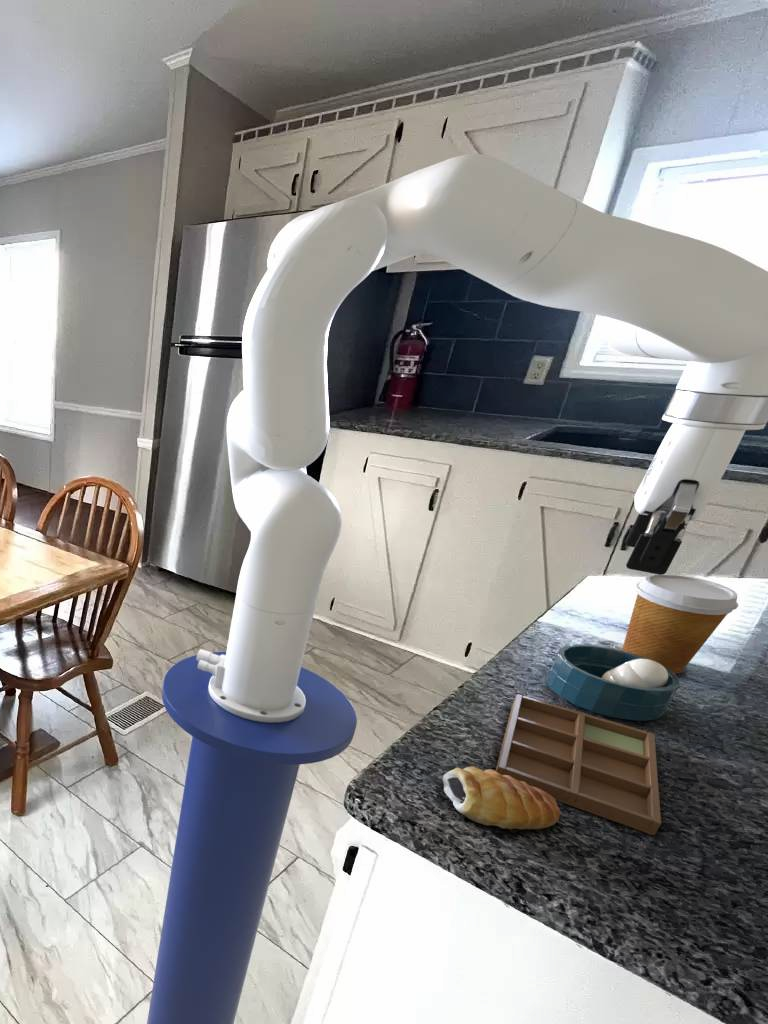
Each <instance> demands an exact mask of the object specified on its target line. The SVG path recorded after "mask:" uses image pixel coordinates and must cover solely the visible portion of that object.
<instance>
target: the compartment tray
mask: <svg viewBox="0 0 768 1024" xmlns="http://www.w3.org/2000/svg"><path fill="white" fill-rule="evenodd" d="M657 762H658V761H657V750H656V735H655V733H653V732H652V731H651V732H650V731H647V730H645V729H644V730H643V729H640V728H637V727H633V726H631V725H626V724H623V723H619V722H616V721H612V720H608V719H606V718H602V717H598V716H595V715H593V714H592V715H591V714H589V713H584V712H581V711H578V710H574V709H571V708H567V707H564V706H560V705H556V704H555V703H554V704H553V703H550V702H546V701H543V700H539V699H536V698H532V697H529V696H526V695H522V694H519V693H516V694H515V697H514V700H513V702H512V705H511V709H510V713H509V715H508V719H507V724H506V727H505V731H504V736H503V740H502V744H501V747H500V751H499V756H498V759H497V764H496V767H495V771H496V772H498V773H499V774H501V775H509V776H511V777H512V778H514V779H516V780H518V781H523V782H526V783H527V784H528V785H529V786H533V787H536V788H539V789H541V790H543V791H544V792H546V793H547V794H549V795H550V796H552V797H553V798H555V800H556V802H559V803H562V804H565V805H567V806H571V807H573V808H576V809H579V810H581V811H585V812H586V813H590V814H593V815H596V816H598V817H600V818H604V819H606V820H610V821H612V822H615V823H617V824H620V825H623V826H626V827H628V828H631V829H634V830H637V831H640V832H643V833H645V834H648V835H650V836H655V835H656V834H657V832H658V830H659V829H660V827H661V826H662V815H661V803H660V790H659V789H660V788H659V777H658V776H659V775H658V763H657Z"/></svg>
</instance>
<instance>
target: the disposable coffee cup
mask: <svg viewBox="0 0 768 1024" xmlns="http://www.w3.org/2000/svg"><path fill="white" fill-rule="evenodd" d="M635 587H636V599H635V602H634V605H633V608H632V609H633V610H632V612H631V617H630V620H629V623H628V627H627V631H626V635H625V638H624V641H623V645H622V649H621V650H622V651H626V652H629V653H632V654H635V655H638V656H642V657H644V658H647V659H650V660H653V661H656V662H658V663H660V664H661V665H663V666H664V667H665V668H667V669H669V670H670V671H672V672H673V673H674V674H675V675H678V674H681V673H682V672H684V670H685V669H686V667H687V666H688V665H689V663H691V661H692V660H693V658H695V656H696V655H697V653H698V652H699V651H700V650H701V648H702V647H704V644H705V643H706V642H707V641H708V640H709V638H710V637H711V635H713V633H714V632H715V631H716V629H717V628H718V627H719V626H720V624H721V623H722V622H723V620H725V618H726V617H727V616H728V615H729V614H730V613H732V612H733V611H734V610H737V609H738V607H739V603H738V593H737V592H736V591H735V590H733V589H732V588H730V587H727V586H724V585H722V584H720V583H717V582H714V581H710V580H707V579H703V578H698V577H694V576H688V575H681V574H676V573H675V574H674V573H665V574H663V575H659V574H653V573H649V574H647V575H646V576H645V577H644V578H643V579H642V580H641V581H639V582H637V583H636V586H635Z"/></svg>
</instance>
